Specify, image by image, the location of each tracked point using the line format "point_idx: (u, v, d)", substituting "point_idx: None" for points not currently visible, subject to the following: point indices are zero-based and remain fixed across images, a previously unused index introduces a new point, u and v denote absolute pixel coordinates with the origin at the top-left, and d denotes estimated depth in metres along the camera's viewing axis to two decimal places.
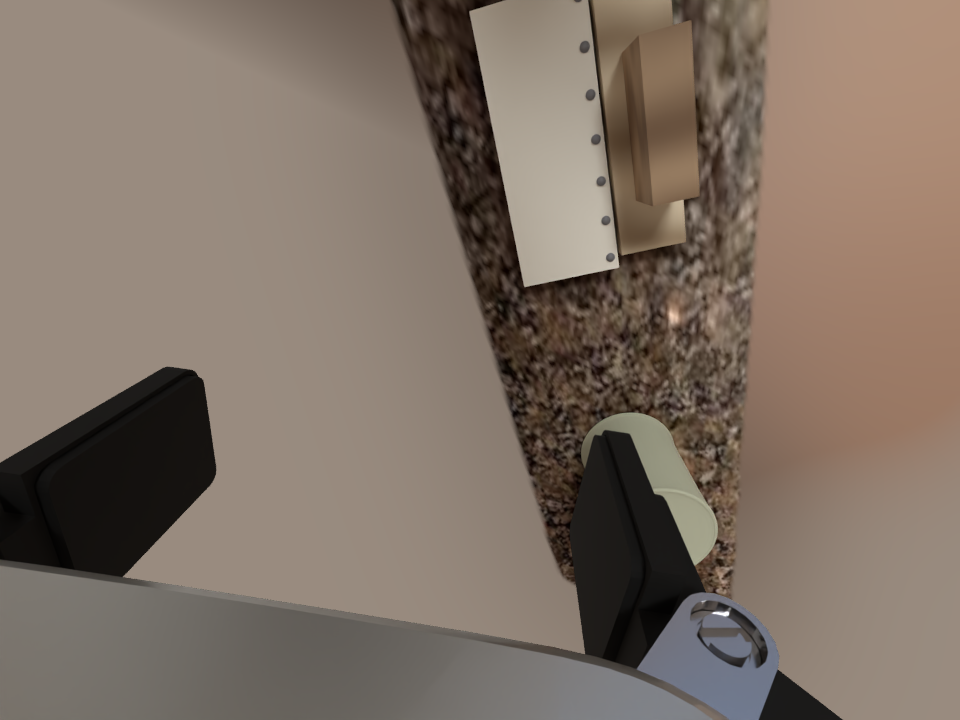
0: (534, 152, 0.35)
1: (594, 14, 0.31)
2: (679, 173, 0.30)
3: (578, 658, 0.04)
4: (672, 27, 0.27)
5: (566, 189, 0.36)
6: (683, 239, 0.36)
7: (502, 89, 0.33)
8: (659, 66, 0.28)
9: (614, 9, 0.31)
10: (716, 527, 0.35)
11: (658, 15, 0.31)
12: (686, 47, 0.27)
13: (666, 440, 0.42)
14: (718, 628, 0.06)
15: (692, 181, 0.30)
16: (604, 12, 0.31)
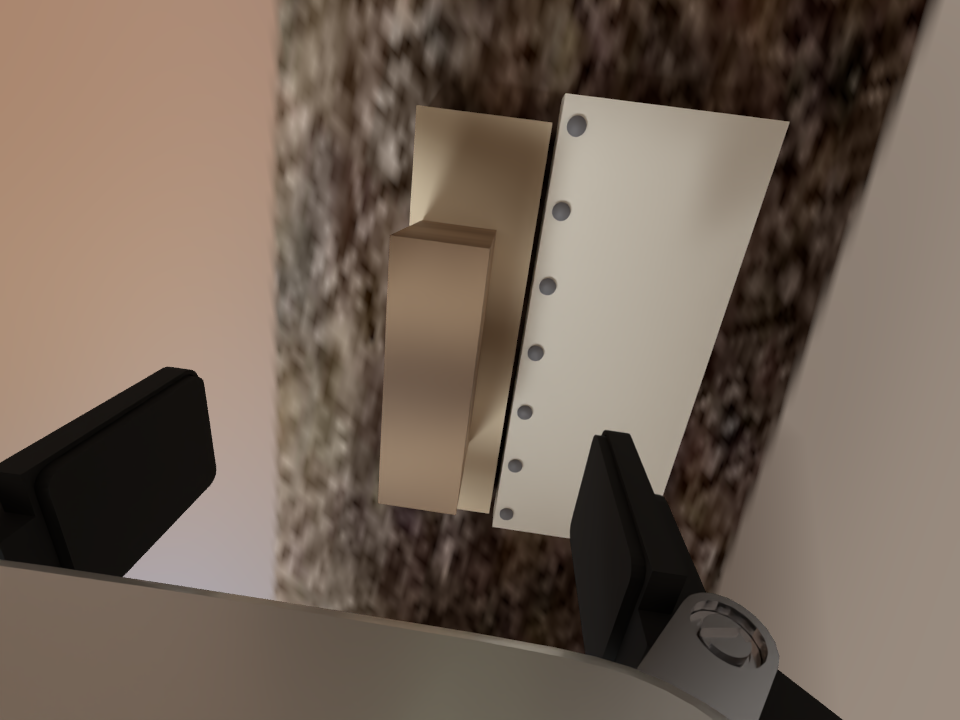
0: (639, 371, 0.20)
1: None
2: (424, 295, 0.14)
3: (578, 658, 0.04)
4: (405, 504, 0.17)
5: (611, 295, 0.19)
6: (420, 112, 0.17)
7: (645, 464, 0.22)
8: (432, 468, 0.17)
9: (466, 488, 0.23)
10: None
11: None
12: (388, 476, 0.17)
13: None
14: (718, 628, 0.06)
15: (401, 271, 0.14)
16: (479, 489, 0.23)
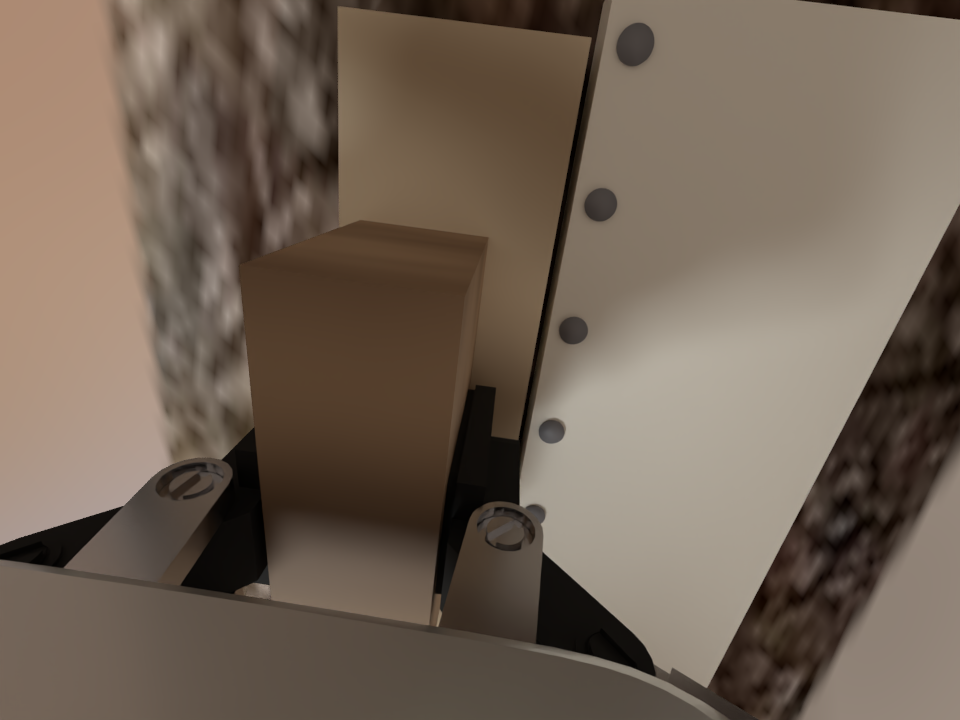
0: (717, 460, 0.13)
1: None
2: (327, 390, 0.07)
3: (578, 658, 0.04)
4: None
5: (680, 344, 0.11)
6: (346, 21, 0.09)
7: (715, 588, 0.14)
8: None
9: None
10: None
11: None
12: None
13: None
14: (499, 528, 0.07)
15: (273, 341, 0.06)
16: None
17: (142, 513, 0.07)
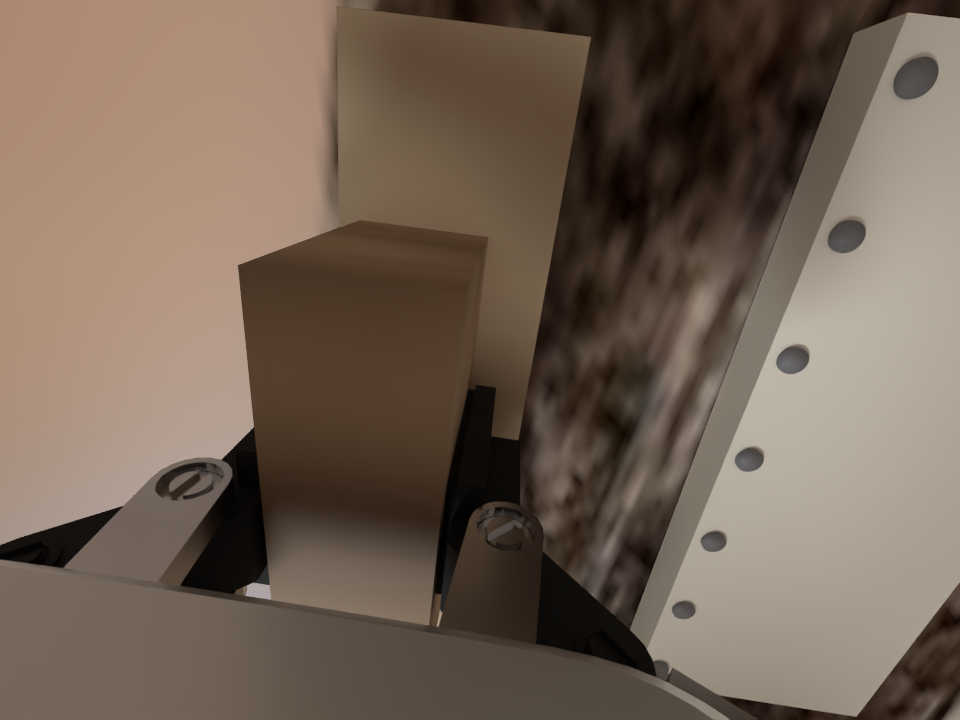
0: (916, 488, 0.12)
1: None
2: (327, 390, 0.07)
3: (578, 658, 0.04)
4: None
5: (901, 374, 0.11)
6: (345, 21, 0.09)
7: (889, 614, 0.14)
8: None
9: None
10: None
11: None
12: None
13: None
14: (499, 528, 0.07)
15: (272, 341, 0.06)
16: None
17: (142, 513, 0.07)
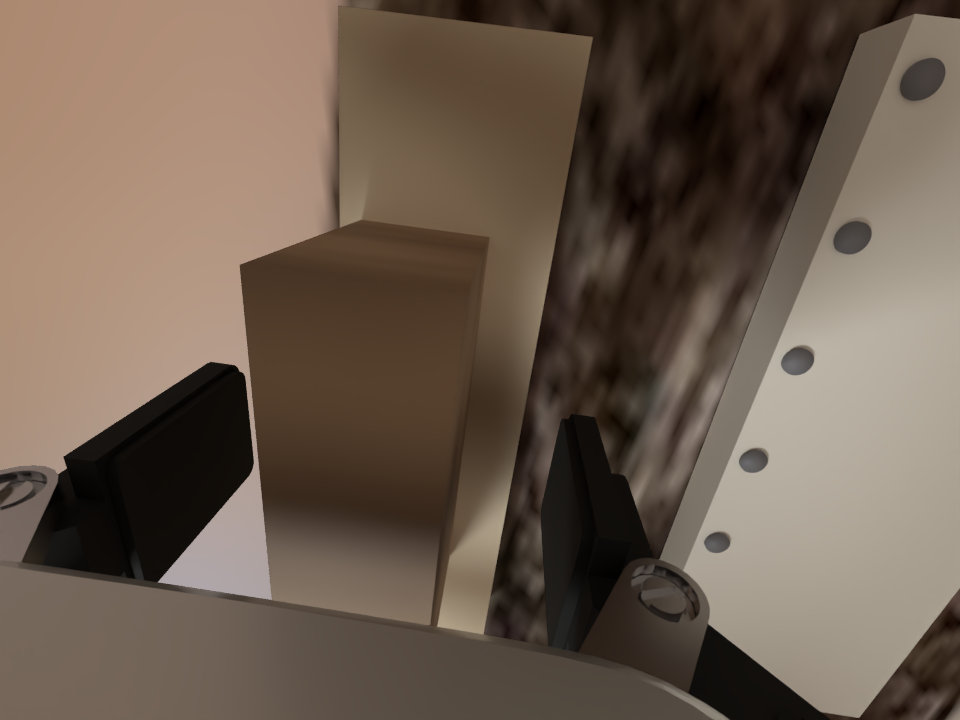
0: (920, 490, 0.12)
1: None
2: (328, 391, 0.07)
3: (578, 658, 0.04)
4: None
5: (906, 375, 0.11)
6: (346, 20, 0.09)
7: (892, 615, 0.14)
8: None
9: (448, 612, 0.16)
10: None
11: None
12: None
13: None
14: (656, 589, 0.07)
15: (274, 341, 0.06)
16: (467, 615, 0.16)
17: None
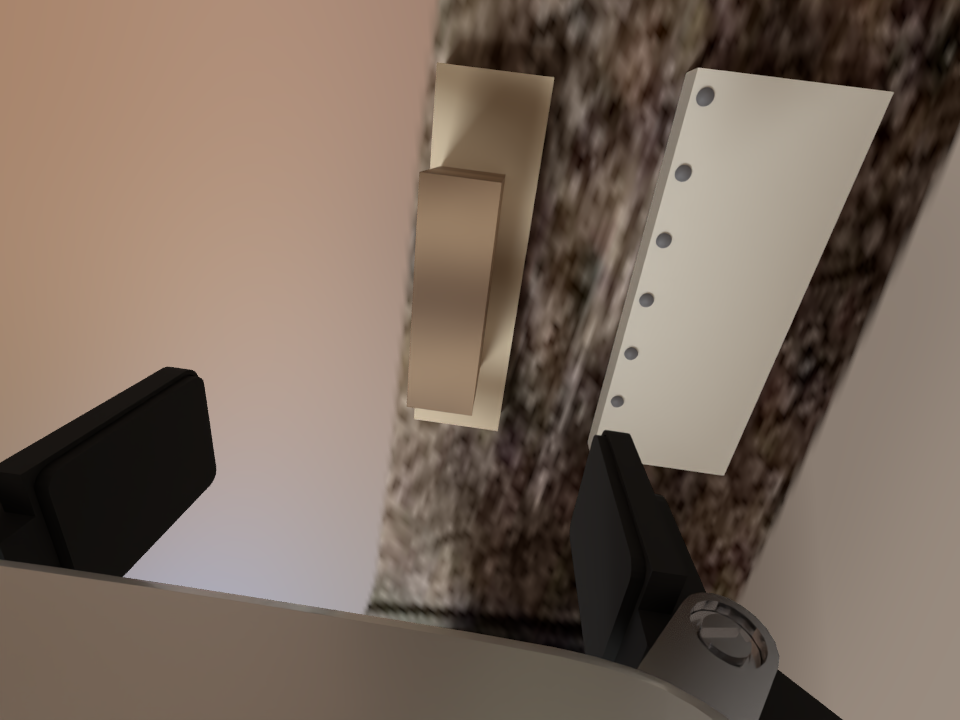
0: (736, 315, 0.23)
1: None
2: (447, 224, 0.17)
3: (578, 658, 0.04)
4: (429, 407, 0.21)
5: (719, 247, 0.22)
6: (440, 69, 0.19)
7: (733, 399, 0.25)
8: (452, 375, 0.20)
9: (478, 407, 0.26)
10: None
11: None
12: (415, 382, 0.20)
13: None
14: (718, 628, 0.06)
15: (428, 202, 0.17)
16: (489, 409, 0.26)
17: None
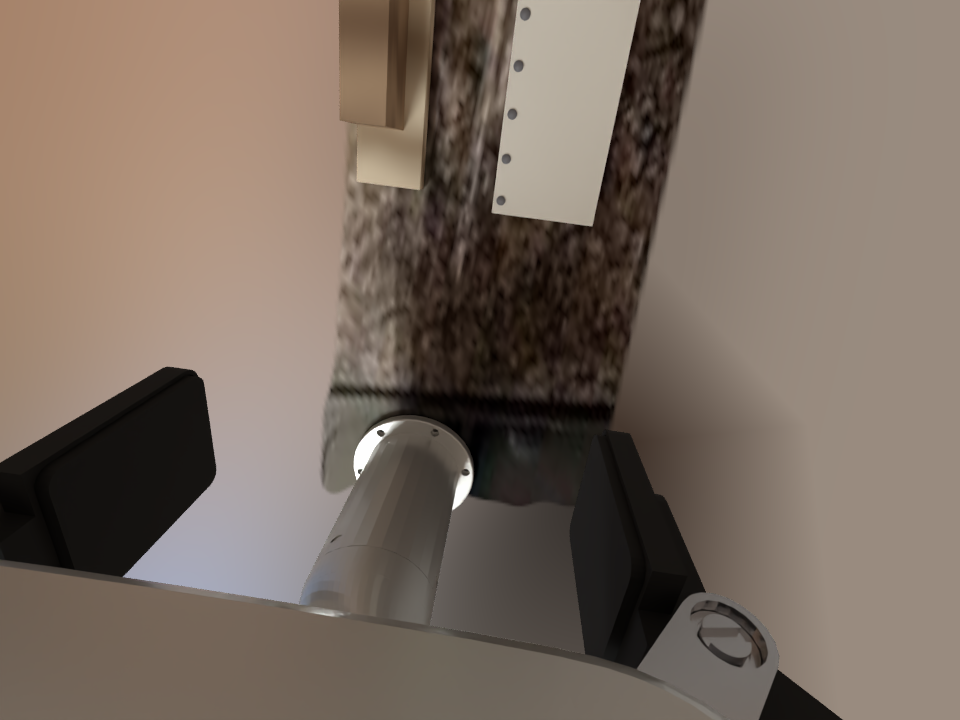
0: (583, 77, 0.32)
1: (421, 172, 0.35)
2: None
3: (578, 657, 0.04)
4: (356, 120, 0.30)
5: (564, 19, 0.31)
6: None
7: (590, 153, 0.34)
8: (369, 89, 0.29)
9: (404, 168, 0.35)
10: None
11: (368, 149, 0.35)
12: (344, 97, 0.29)
13: None
14: (718, 628, 0.06)
15: None
16: (412, 169, 0.35)
17: None
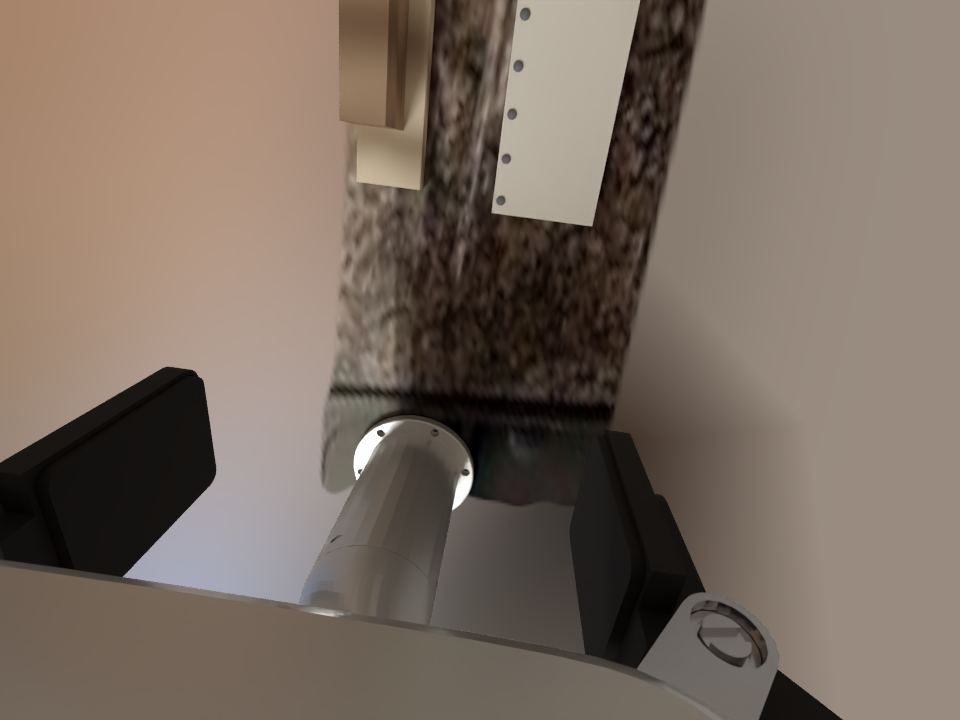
0: (583, 77, 0.32)
1: (421, 172, 0.35)
2: None
3: (578, 658, 0.04)
4: (355, 120, 0.30)
5: (564, 19, 0.31)
6: None
7: (590, 153, 0.34)
8: (369, 89, 0.29)
9: (403, 168, 0.35)
10: None
11: (368, 149, 0.35)
12: (344, 98, 0.29)
13: None
14: (718, 628, 0.06)
15: None
16: (412, 169, 0.35)
17: None
